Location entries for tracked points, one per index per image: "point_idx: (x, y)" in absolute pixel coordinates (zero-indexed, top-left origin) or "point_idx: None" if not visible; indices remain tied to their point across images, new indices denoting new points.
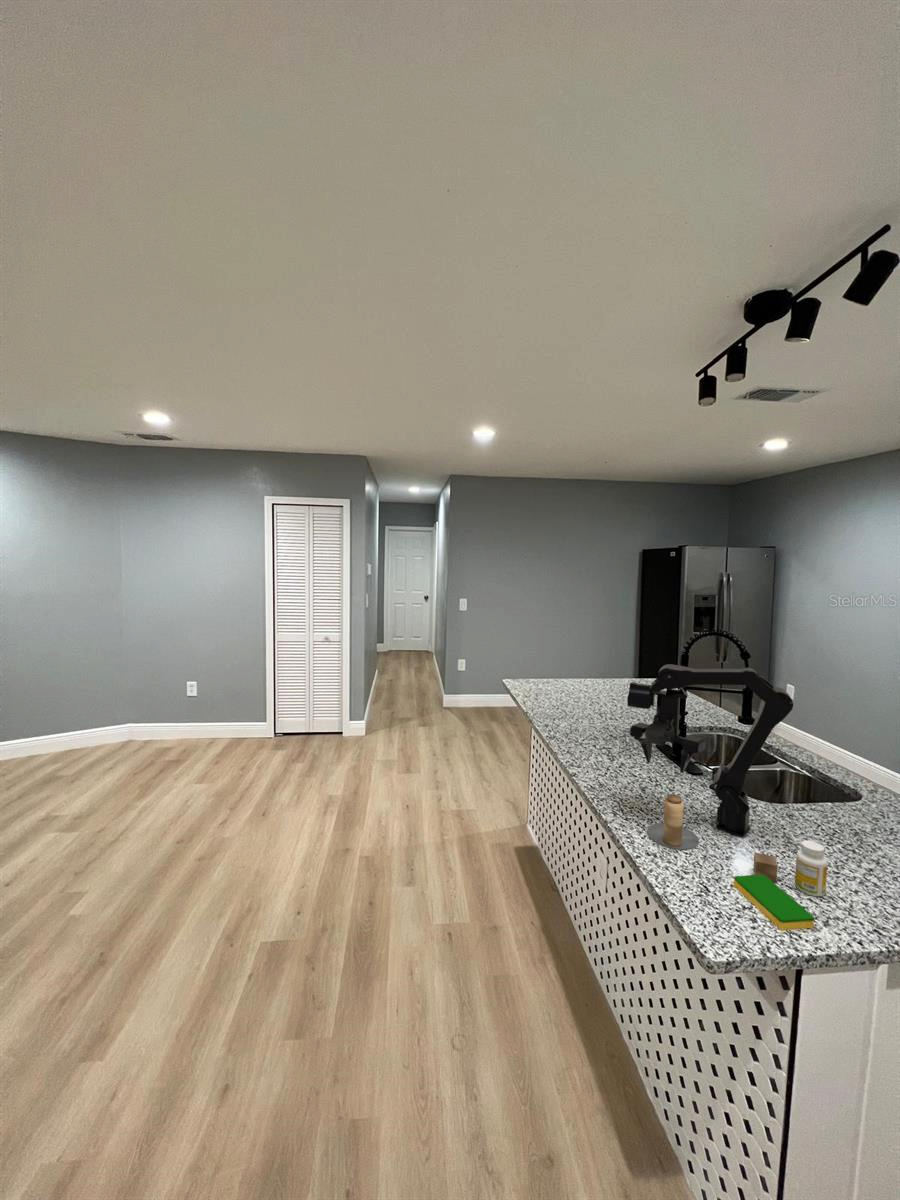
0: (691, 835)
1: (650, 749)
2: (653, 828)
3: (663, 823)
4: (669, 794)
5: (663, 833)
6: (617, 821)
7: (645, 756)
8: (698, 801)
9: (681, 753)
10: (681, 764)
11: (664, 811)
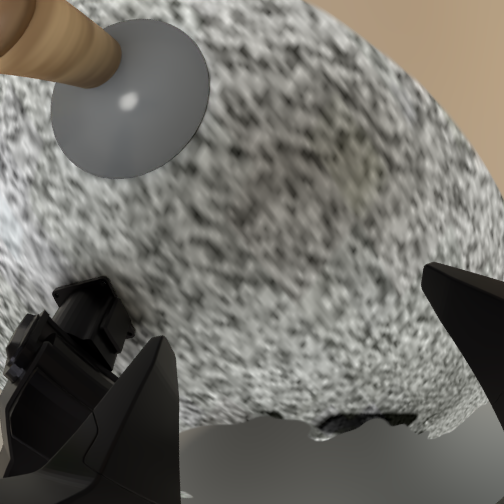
0: (90, 155)
1: (481, 354)
2: (186, 67)
3: (192, 131)
4: (19, 6)
5: (107, 33)
6: (298, 18)
7: (473, 274)
8: (245, 357)
9: (52, 502)
10: (132, 392)
11: (73, 6)
